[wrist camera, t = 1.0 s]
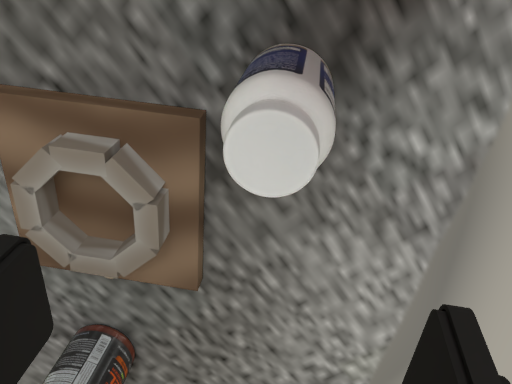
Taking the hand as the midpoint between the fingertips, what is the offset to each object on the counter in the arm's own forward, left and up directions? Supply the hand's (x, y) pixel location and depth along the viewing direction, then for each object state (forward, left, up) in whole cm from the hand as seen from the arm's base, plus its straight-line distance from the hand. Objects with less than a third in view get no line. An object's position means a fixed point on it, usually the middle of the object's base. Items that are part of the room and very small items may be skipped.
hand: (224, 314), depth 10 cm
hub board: (+9, -12, -18) cm, 23 cm away
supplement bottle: (+26, -14, -19) cm, 35 cm away
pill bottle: (0, 0, -19) cm, 19 cm away
